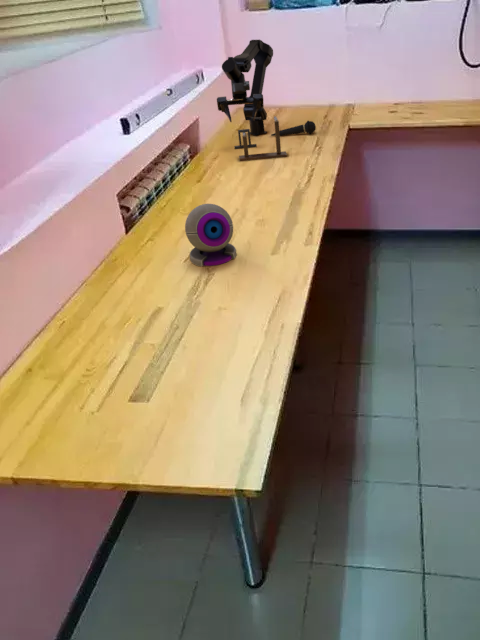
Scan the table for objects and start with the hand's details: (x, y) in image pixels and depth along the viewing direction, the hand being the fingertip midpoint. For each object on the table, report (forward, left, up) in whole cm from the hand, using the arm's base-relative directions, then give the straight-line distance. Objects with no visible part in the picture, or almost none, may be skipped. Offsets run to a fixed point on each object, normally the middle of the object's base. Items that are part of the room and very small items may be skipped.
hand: (242, 120), depth 250 cm
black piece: (+5, -4, -9) cm, 11 cm away
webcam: (+74, -68, -13) cm, 102 cm away
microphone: (-3, +30, -13) cm, 33 cm away
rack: (+11, 0, -12) cm, 16 cm away
